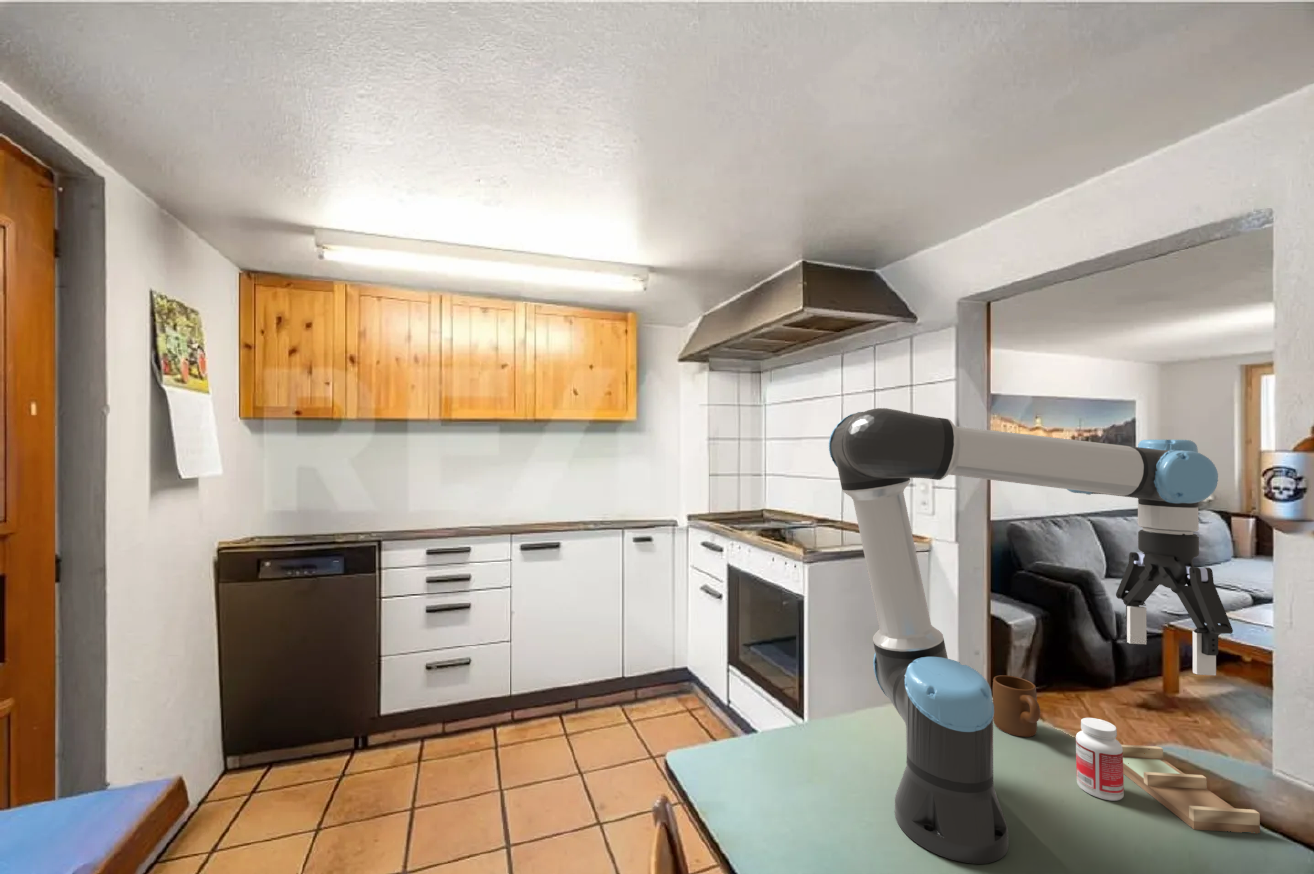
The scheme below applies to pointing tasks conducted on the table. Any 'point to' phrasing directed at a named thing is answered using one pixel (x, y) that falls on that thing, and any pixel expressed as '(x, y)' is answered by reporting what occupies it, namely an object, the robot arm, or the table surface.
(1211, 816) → the notch board
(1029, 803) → the table surface
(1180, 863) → the table surface
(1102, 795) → the pill bottle
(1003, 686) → the mug
